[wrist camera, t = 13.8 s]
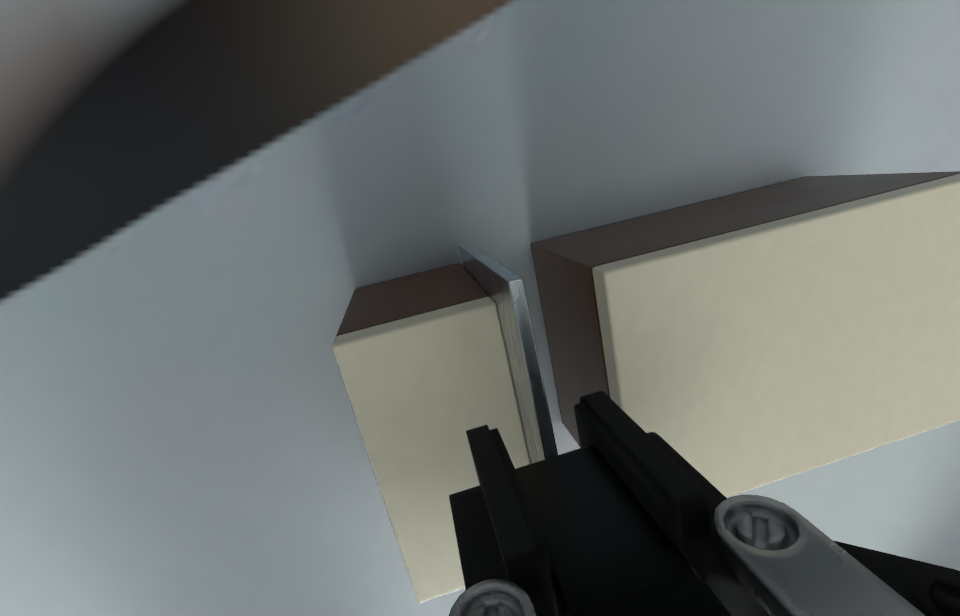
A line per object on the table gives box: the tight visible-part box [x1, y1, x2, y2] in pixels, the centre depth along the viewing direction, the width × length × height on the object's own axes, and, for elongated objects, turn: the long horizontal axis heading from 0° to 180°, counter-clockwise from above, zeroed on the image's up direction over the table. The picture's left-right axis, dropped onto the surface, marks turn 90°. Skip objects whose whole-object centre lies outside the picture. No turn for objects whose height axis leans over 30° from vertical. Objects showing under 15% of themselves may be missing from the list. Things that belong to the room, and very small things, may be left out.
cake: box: [531, 172, 960, 498], centre depth 16 cm, size 8×12×6 cm, turn 102°
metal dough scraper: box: [459, 244, 732, 616], centre depth 11 cm, size 10×2×12 cm, turn 12°
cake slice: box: [332, 263, 530, 603], centre depth 15 cm, size 8×4×6 cm, turn 12°
